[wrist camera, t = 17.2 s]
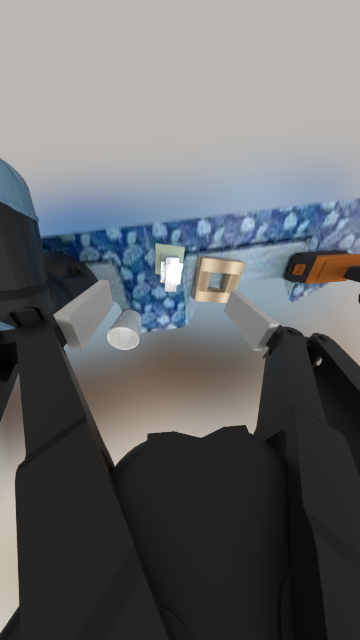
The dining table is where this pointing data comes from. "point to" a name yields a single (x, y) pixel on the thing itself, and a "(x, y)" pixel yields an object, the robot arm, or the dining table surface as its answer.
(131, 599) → the robot arm
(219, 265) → the socket block
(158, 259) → the mat
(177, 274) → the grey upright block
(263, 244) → the dining table surface
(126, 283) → the dining table surface
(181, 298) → the dining table surface
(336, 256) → the power drill
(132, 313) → the white cup
